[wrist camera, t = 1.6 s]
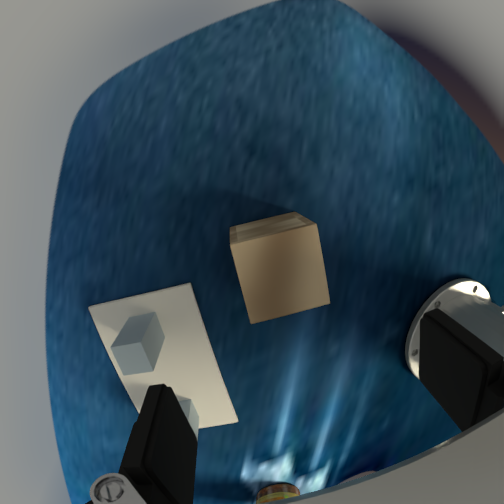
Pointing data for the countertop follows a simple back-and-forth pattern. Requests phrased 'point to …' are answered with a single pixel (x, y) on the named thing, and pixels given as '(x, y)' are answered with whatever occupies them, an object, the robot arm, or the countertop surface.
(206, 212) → the countertop surface
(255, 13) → the countertop surface
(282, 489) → the sauce bottle
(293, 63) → the countertop surface
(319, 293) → the wood grain cube
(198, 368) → the post stand
